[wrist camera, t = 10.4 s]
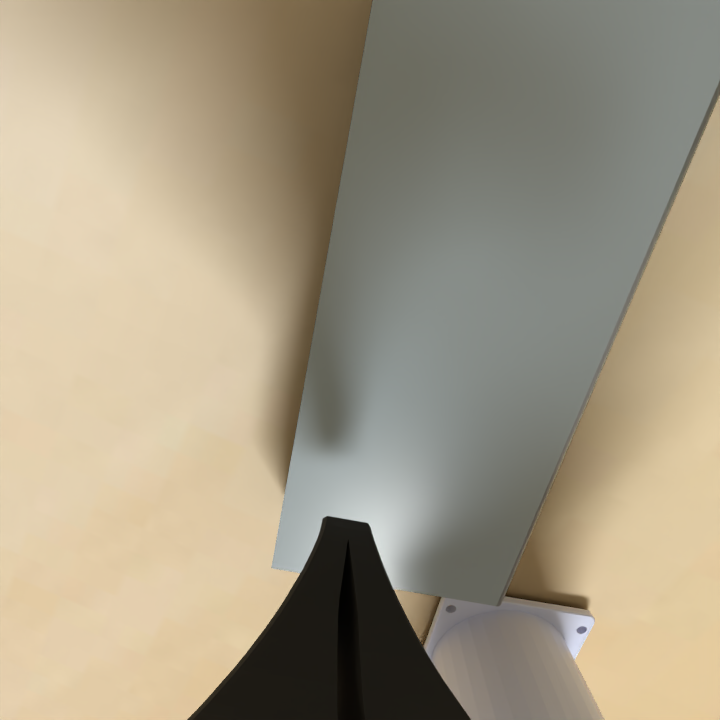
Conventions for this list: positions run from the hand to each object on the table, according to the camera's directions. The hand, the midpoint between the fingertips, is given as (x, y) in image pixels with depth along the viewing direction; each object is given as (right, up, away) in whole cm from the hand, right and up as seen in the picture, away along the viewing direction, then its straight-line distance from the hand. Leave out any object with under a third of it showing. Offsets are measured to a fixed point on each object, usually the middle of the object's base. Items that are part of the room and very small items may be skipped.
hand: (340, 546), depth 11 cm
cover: (+4, +6, +1) cm, 7 cm away
